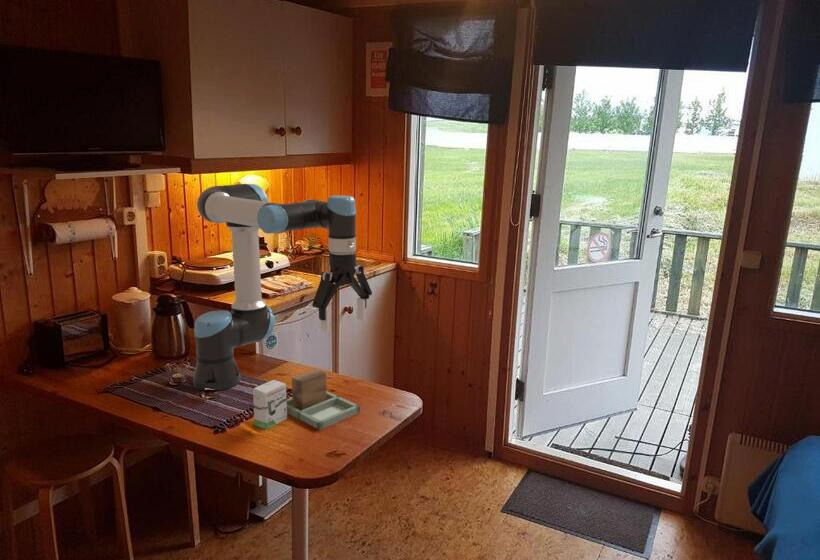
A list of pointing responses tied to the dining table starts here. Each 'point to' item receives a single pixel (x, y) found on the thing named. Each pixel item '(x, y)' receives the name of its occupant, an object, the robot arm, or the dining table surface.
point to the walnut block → (308, 389)
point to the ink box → (269, 404)
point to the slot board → (325, 411)
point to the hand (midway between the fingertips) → (343, 325)
